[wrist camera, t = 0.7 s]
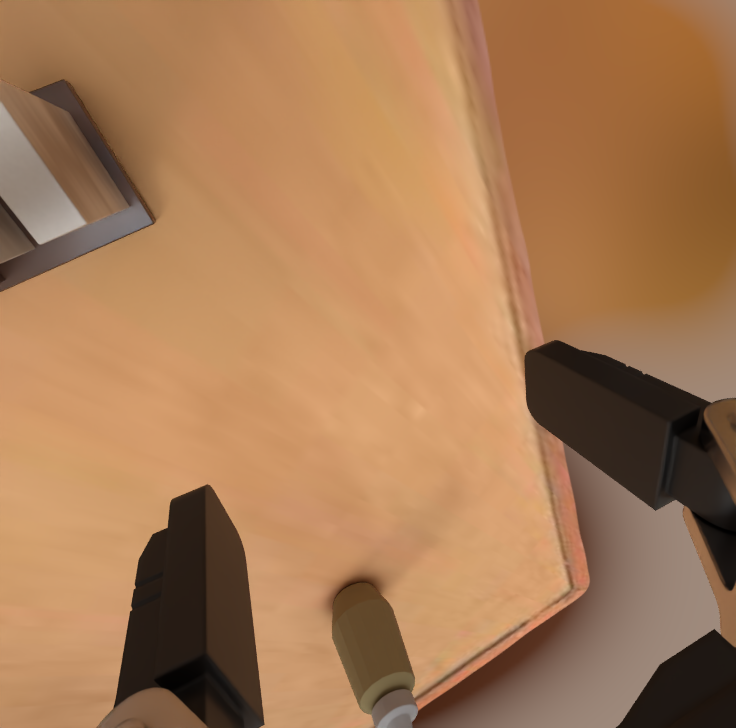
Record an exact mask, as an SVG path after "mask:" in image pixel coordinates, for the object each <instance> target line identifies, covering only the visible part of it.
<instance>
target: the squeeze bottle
mask: <svg viewBox="0 0 736 728" xmlns="http://www.w3.org/2000/svg"><path fill="white" fill-rule="evenodd" d="M332 639H333V641H334V644H335V646H336V649H337V651H338V654H339V656H340V659H341V661H342V664H343V666H344V669H345V672H346V674H347V677H348V679H349V682H350V684H351V687H352V689H353V692H354V694H355V697H356V699H357V702H358V704H359V707H360V709H361V710H362V711H363V712H364V713H367V714H371V715H372V718H373V722H374V725H375V728H412V721H413V720H414V719H415V717H416V715H417V712H418V707H417V705H416V702H415V700H414V697H413V695H412V693H411V692H412V690H413V688H414V684H415V677H414V674H413V671H412V667H411V664H410V661H409V658H408V655H407V652H406V649H405V646H404V643H403V639H402V636H401V633H400V630H399V627H398V624H397V621H396V618H395V615H394V611H393V609H392V607H391V606H390V604H389V603H388V602H387V600H386V599H385V598H384V597H383V596H382V595H381V594H380V593H379V592H378V591H377V590H376V589H375V588H374V587H373V585H371V584H368V583H356V584H353V585H350V586H348V587H347V588H345V589H343V590H342V591H341V592H340V593H339V594H338V595H337V596H336V598H335V600H334V602H333V619H332Z"/></svg>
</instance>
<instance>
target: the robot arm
mask: <svg viewBox="0 0 736 728" xmlns="http://www.w3.org/2000/svg"><path fill="white" fill-rule="evenodd" d="M525 382H526V401H527V406H528V409H529V411H530V413H531V415H532V416H533V418H534V419H535V420H536V421H537V423H539V424H540V425H541V426H542V427H544V428H545V429H547V430H548V431H549V432H551V433H552V434H553V435H555V436H556V437H557V438H559V439H560V440H561V441H563V442H564V443H565V444H567V445H568V446H569V447H571V448H572V449H574V450H575V451H576V452H577V453H579V454H580V455H582V456H583V457H584V458H586V459H587V460H588V461H590V462H591V463H592V464H594V465H595V466H596V467H598V468H599V469H600V470H602V471H603V472H604V473H606V474H607V475H608V476H610V477H611V478H612V479H614V480H615V481H617V482H618V483H619V484H621V485H622V486H623V487H625V488H626V489H627V490H629V491H630V492H631V493H633V494H634V495H635V496H637V497H638V498H639V499H641V500H642V501H644V502H645V503H646V504H648V505H649V506H650V507H652V508H653V509H654V510H655V511H656V510H658V509H659V508H661V507H663V506H665V505H667V504H669V503H670V502H672V501H674V500H677V501H679V502H680V503H682V504H683V505H684V508H683V517H684V521H685V523H686V526H687V528H688V531H689V533H690V536H691V538H692V540H693V543H694V546H695V548H696V550H697V553H698V555H699V558H700V560H701V563H702V565H703V568H704V570H705V573H706V575H707V578H708V580H709V583H710V585H711V588H712V590H713V593H714V595H715V598H716V600H717V604H718V608H719V613H720V628H721V635H720V634H719V633H718V632H717V631H716V630H715V629H714V630H712V631H711V632H709V633H708V634H707V635H705V636H703V637H702V638H700V639H698V640H697V641H695V642H694V643H693V644H691V645H689V646H688V647H686V648H685V649H683V650H682V651H680V652H679V653H677V654H676V655H674V656H672V657H671V658H669V659H668V660H666V661H665V662H663V663H662V664H660V665H659V667H658V668H657V670H656V671H655V673H654V674H653V676H652V677H651V679H650V680H649V682H648V683H647V685H646V686H645V688H644V689H643V691H642V692H641V694H640V695H639V697H638V699H637V700H636V701H635V703H634V704H633V706H632V707H631V709H630V711H629V712H628V713H627V715H626V716H625V718H624V719H623V721H622V722H621V723H620V725H619V726H617V727H616V728H736V398H727V399H721V400H718V401H715V402H713V403H710V402H708V401H706V400H704V399H701V398H699V397H697V396H695V395H692V394H690V393H688V392H686V391H683V390H681V389H679V388H677V387H675V386H672V385H670V384H668V383H666V382H664V381H661V380H659V379H657V378H655V377H653V376H650V375H648V374H645V375H644V374H643V373H642V372H641V371H639V370H637V369H635V368H632V367H630V366H628V367H626V365H625V364H624V363H621V362H619V361H617V360H615V359H612V358H610V357H608V356H606V355H602V354H597V353H592V352H587V351H582V350H578V349H576V348H574V347H572V346H570V345H568V344H565V343H563V342H561V341H558V340H554V341H551V342H549V343H547V344H544V345H542V346H539V347H537V348H535V349H532V350H530V351H528V352H527V353H526V355H525ZM135 586H136V589H134V592H133V598H132V604H131V606H132V611H130V616H129V622H128V628H127V634H126V640H125V646H124V652H123V658H122V664H121V670H120V676H119V682H118V688H117V694H116V700H115V704H114V709H113V710H112V711H111V712H110V713H109V714H108V715H107V716H106V717H105V718H104V719H103V720H102V721H101V722H100V724H99V725H98V726H97V728H259V727H261V726H263V725H264V716H263V707H262V698H261V689H260V680H259V671H258V663H257V654H256V645H255V636H254V627H253V618H252V609H251V600H250V591H249V582H248V573H247V564H246V557H245V552H244V548H243V544H242V541H241V539H240V536H239V534H238V532H237V530H236V528H235V526H234V525H233V523H232V521H231V519H230V518H229V516H228V514H227V512H226V511H225V509H224V507H223V505H222V504H221V502H220V500H219V499H218V497H217V495H216V493H215V492H214V490H213V489H212V487H211V486H210V485H208V484H207V485H205V486H202V487H200V488H198V489H195V490H193V491H190V492H188V493H186V494H183V495H181V496H178V497H176V498H174V499H172V500H171V503H170V510H169V520H168V528H166V529H164V530H161V531H159V532H157V533H155V534H153V535H152V537H151V539H150V540H149V542H148V544H147V546H146V548H145V549H144V551H143V553H142V555H141V557H140V558H139V562H138V568H137V574H136V580H135Z"/></svg>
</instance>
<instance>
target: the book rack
mask: <svg viewBox="0 0 736 728" xmlns="http://www.w3.org/2000/svg"><path fill="white" fill-rule="evenodd" d="M155 222H156V221H155V219H154V218H153V216H152V214H151V213H150V211H149V210H148V208H147V206H146V205H145V203H144V202H143V200H142V198H141V197H140V195H139V194H138V192H137V190H136V189H135V187H134V186H133V184H132V182H131V181H130V179H129V178H128V176H127V174H126V173H125V171H124V170H123V168H122V166H121V165H120V163H119V161H118V160H117V158H116V157H115V155H114V153H113V152H112V150H111V149H110V147H109V145H108V144H107V142H106V141H105V139H104V137H103V136H102V134H101V133H100V131H99V129H98V128H97V126H96V125H95V123H94V121H93V120H92V118H91V117H90V115H89V113H88V112H87V110H86V109H85V107H84V105H83V104H82V102H81V101H80V99H79V97H78V96H77V94H76V93H75V91H74V89H73V88H72V86H71V84H70V83H68V82H67V81H65V80H60V81H58V82H55V83H53V84H50V85H47V86H45V87H42V88H40V89H37V90H34V91H32V92H29V93H28V92H26V91H24V90H22V89H20V88H18V87H16V86H14V85H12V84H10V83H8V82H6V81H3V80H1V79H0V292H1V291H4V290H6V289H8V288H10V287H13V286H15V285H17V284H19V283H22V282H24V281H26V280H28V279H31V278H33V277H35V276H37V275H40V274H42V273H44V272H46V271H49V270H51V269H53V268H55V267H58V266H60V265H62V264H64V263H67V262H69V261H71V260H73V259H76V258H78V257H80V256H82V255H85V254H87V253H89V252H91V251H94V250H96V249H98V248H100V247H103V246H105V245H107V244H109V243H112V242H114V241H116V240H118V239H121V238H123V237H125V236H127V235H130V234H132V233H134V232H136V231H139V230H141V229H143V228H145V227H148V226H150V225H152V224H154V223H155Z"/></svg>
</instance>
